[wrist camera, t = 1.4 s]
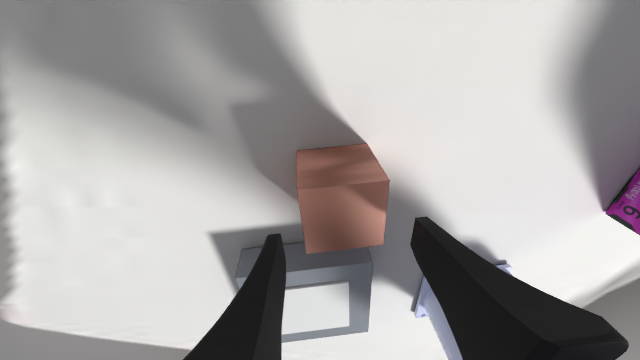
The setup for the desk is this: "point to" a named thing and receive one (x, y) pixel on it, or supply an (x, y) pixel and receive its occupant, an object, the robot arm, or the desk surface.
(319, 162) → the salmon brown cube
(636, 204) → the candy bar box
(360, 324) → the grey square frame
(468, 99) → the desk surface
